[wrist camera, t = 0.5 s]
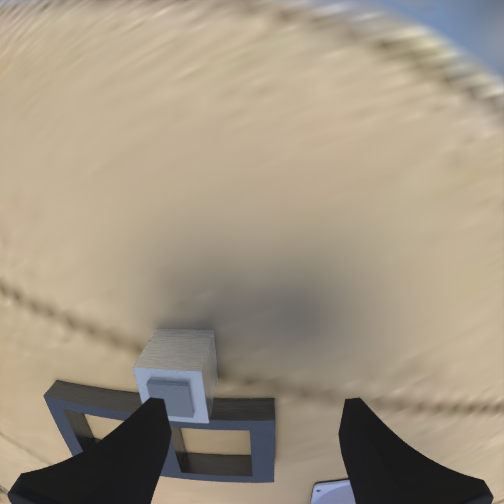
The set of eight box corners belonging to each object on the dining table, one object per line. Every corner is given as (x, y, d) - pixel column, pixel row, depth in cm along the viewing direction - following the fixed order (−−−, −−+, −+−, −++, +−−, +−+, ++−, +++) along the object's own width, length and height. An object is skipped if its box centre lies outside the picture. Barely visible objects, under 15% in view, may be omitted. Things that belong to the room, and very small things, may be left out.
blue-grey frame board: (273, 461, 24) (273, 482, 22) (83, 441, 25) (73, 457, 23) (274, 398, 22) (274, 420, 20) (56, 380, 23) (43, 395, 21)
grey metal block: (218, 377, 22) (208, 427, 17) (165, 375, 22) (144, 422, 17) (213, 329, 21) (200, 375, 16) (157, 328, 21) (130, 371, 16)
